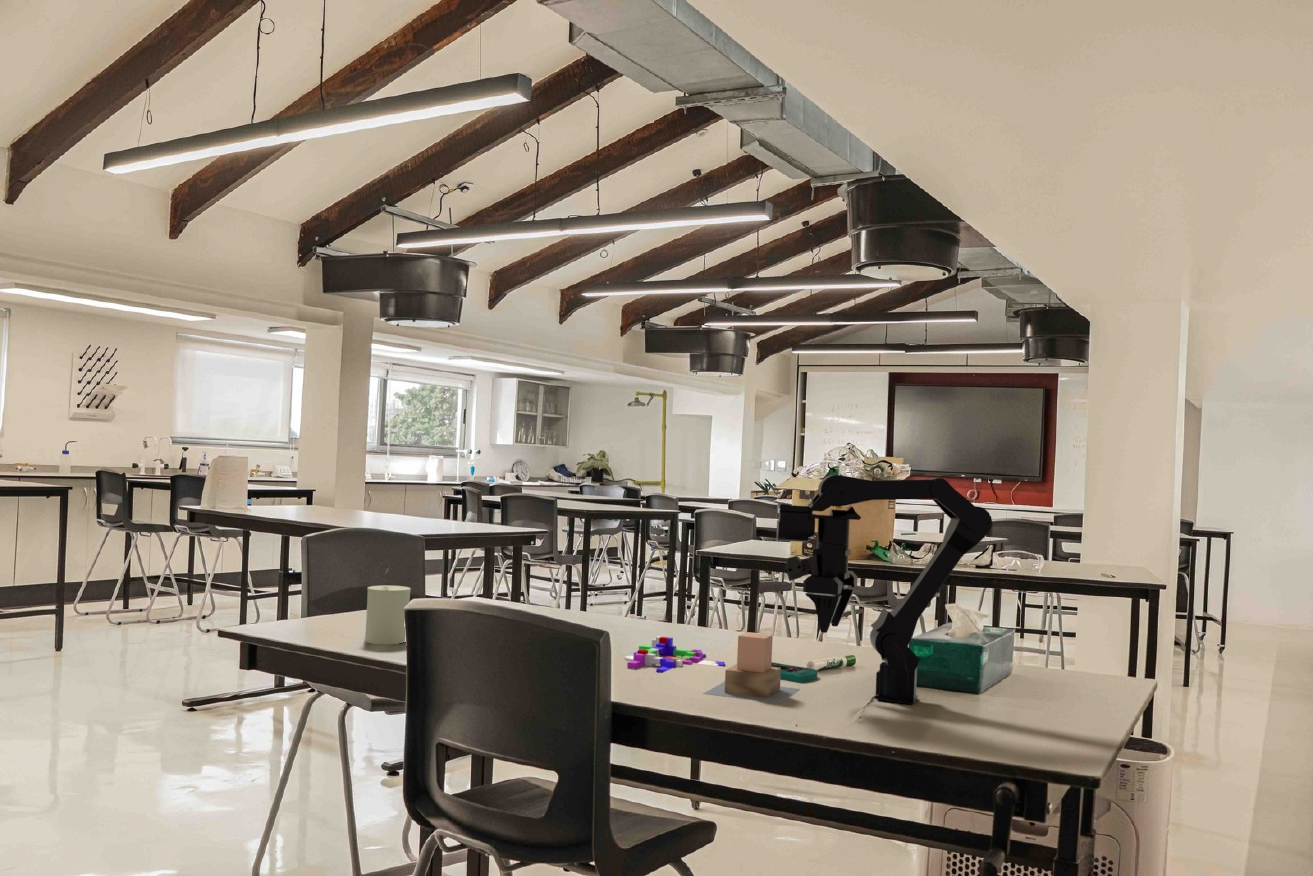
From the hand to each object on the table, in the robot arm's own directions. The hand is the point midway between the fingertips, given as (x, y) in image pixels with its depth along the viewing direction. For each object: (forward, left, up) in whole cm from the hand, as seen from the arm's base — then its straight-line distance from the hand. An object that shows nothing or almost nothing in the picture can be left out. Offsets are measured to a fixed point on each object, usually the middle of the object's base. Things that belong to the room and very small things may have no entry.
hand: (829, 629), depth 188 cm
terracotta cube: (+12, +7, -7) cm, 16 cm away
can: (+96, 0, -12) cm, 97 cm away
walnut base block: (+12, +7, -11) cm, 18 cm away
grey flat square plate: (+12, +7, -12) cm, 18 cm away
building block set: (+35, -15, -13) cm, 40 cm away
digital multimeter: (+12, -11, -13) cm, 21 cm away
